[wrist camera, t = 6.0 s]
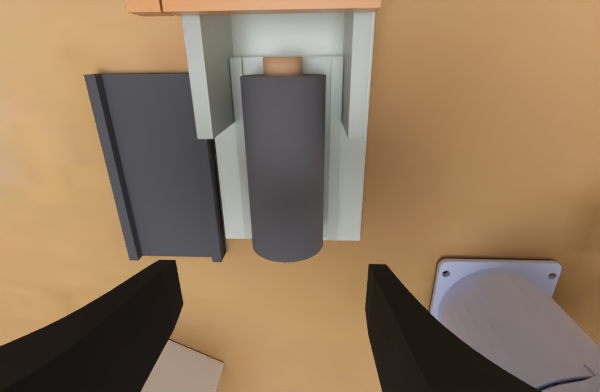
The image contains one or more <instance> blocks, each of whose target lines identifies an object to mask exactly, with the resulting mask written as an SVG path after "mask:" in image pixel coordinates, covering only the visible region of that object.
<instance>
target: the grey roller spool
mask: <svg viewBox="0 0 600 392" xmlns="http://www.w3.org/2000/svg"><path fill="white" fill-rule="evenodd" d="M263 69H264V74H253V75H242V76H240V84H241V98H242V111H243V124H244V137H245V150H246V163H247V176H248V189H249V202H250V216H251V229H252V242H253V249H254V251H255V252H256V253H257V254H258V255H259V256H261V257H263V258H265V259H268V260H271V261H276V262H282V263H293V262H297V261H301V260H305V259H308V258H310V257H312V256H314V255H316V254H317V253H318V252H319V251H320V250H321V248H322V246H323V210H324V156H325V102H326V75H324V74H306V73H302V57H263Z"/></svg>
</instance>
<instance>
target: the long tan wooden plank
mask: <svg viewBox="0 0 600 392" xmlns="http://www.w3.org/2000/svg"><path fill="white" fill-rule="evenodd" d="M125 6H126V11H127V13H132V14H136V15H140V16H175V15H177V16H186V15H241V14H295V13H350V12H376V11H377V10H378V9H380V8H381V0H125Z"/></svg>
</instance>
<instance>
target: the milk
mask: <svg viewBox="0 0 600 392" xmlns="http://www.w3.org/2000/svg"><path fill="white" fill-rule="evenodd" d="M223 366H224V363H223V362H220V361H218V360H216V359H213V358H211V357H208V356H206V355H204V354H201V353H199V352H197V351H194V350H192V349H190V348H187V347H185V346H183V345H180V344H178V343H176V342H173V341H171V340H168V342H167V343H166V345H165V347H164V349H163V351H162V353H161V355H160V357H159V358H158V360H157V362H156V364H155V366H154V368H153V370H152V371H151V373H150V375H149V377H148V379H147V381H146V383H145V384H144V386H143V388H142V390H141V392H216V389H217V386H218V383H219V379H220V376H221V373H222V370H223Z"/></svg>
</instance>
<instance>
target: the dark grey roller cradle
mask: <svg viewBox="0 0 600 392" xmlns="http://www.w3.org/2000/svg"><path fill="white" fill-rule="evenodd" d="M84 77H85V81H86V85H87V90H88V94H89V98H90V102H91V106H92V110H93V114H94V118H95V122H96V126H97V130H98V134H99V138H100V142H101V146H102V150H103V154H104V158H105V162H106V166H107V170H108V174H109V178H110V183H111V187H112V191H113V195H114V199H115V203H116V207H117V211H118V215H119V219H120V223H121V227H122V231H123V235H124V239H125V243H126V247H127V251H128V255H129V259H130V260H139V259H140V258H141V257H142V256H188V257H212V261H213V262H222V260H223V258H224V256H225V253H226V249H225V240H224V231H223V222H222V214H221V205H220V196H219V187H218V178H217V170H216V161H215V152H214V143H213V139H198V138H197V131H196V123H195V115H194V108H193V100H192V93H191V85H190V77H189V73H147V74H91V75H84Z"/></svg>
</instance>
